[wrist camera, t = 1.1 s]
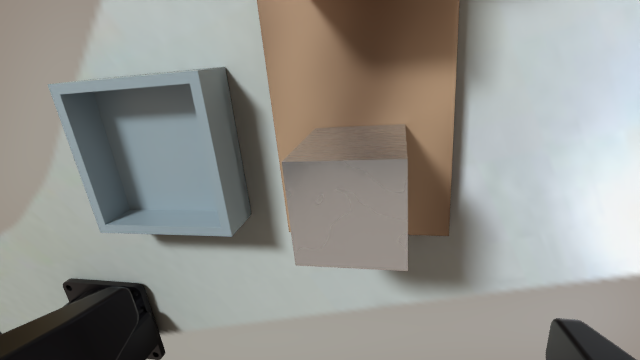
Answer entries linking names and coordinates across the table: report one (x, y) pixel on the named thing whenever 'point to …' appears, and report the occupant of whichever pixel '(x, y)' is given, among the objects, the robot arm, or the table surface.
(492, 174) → the table surface
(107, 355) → the robot arm
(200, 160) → the tray
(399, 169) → the block
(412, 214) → the rail base
